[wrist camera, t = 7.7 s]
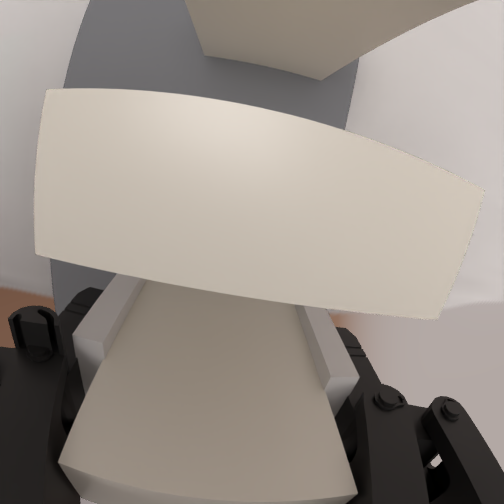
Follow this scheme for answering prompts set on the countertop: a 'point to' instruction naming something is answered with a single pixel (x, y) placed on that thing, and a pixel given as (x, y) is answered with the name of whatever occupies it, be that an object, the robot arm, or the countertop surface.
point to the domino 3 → (207, 408)
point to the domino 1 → (306, 29)
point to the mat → (181, 84)
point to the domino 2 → (246, 203)
